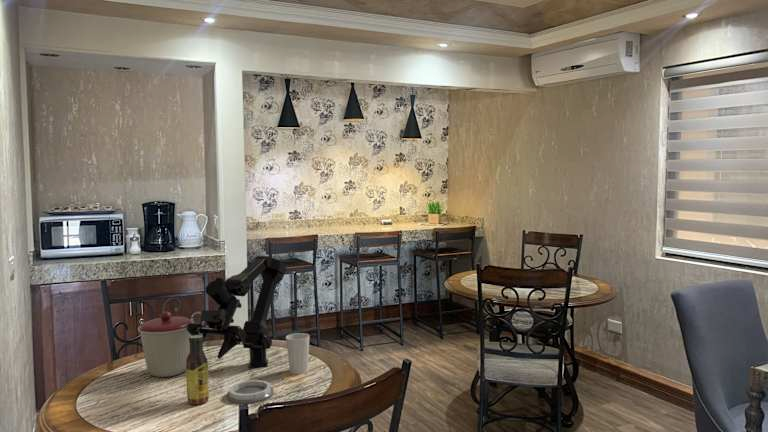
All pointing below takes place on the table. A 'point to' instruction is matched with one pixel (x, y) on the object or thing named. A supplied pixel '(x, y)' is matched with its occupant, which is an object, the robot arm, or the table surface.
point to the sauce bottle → (197, 372)
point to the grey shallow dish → (250, 392)
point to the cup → (298, 352)
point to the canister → (166, 344)
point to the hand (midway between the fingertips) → (205, 356)
